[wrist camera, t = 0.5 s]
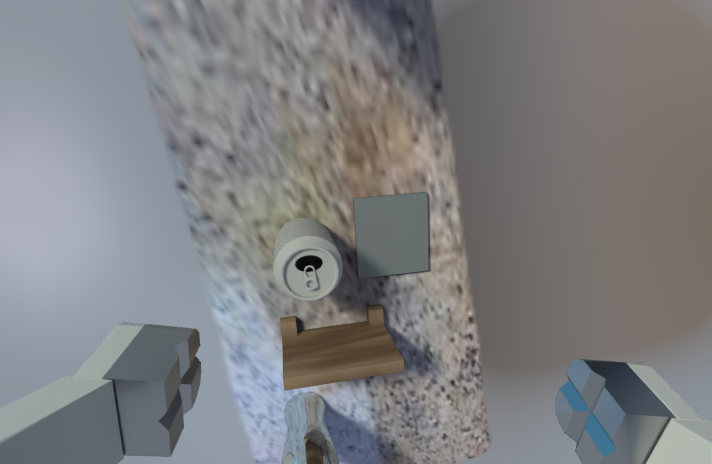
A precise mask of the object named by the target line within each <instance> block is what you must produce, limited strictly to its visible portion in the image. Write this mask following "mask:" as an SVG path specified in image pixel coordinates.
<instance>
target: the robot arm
mask: <svg viewBox="0 0 712 464" xmlns="http://www.w3.org/2000/svg"><path fill="white" fill-rule="evenodd" d="M199 346H200V337H199V332H198V330H197V329H192V328H182V327H172V326H161V325H151V324H148V325H147V324H139V323H128V322H123V323H120V324H118V325H117V326H116V327H115V328H114V329H113V330H112V331H111V333H110V334H109V335H108V336H107V337H106V338H105V340H104V341H103V342H102V343H101V344H100V345H99V347H98V348H97V349H96V350H95V351H94V353H93V354H92V355H91V356H90V357H89V358H88V360H87V361H86V362H85V363H84V364H83V366H82V367H81V368H80V369H79V370H78V371H77V373H76V374H75V375H74V376H73V377H63V378H61V379H59V380H57V381H54V382H52V383H50V384H49V385H46V386H44V387H42V388H40V389H38V390H36V391H34V392H32V393H30V394H28V395H26V396H24V397H22V398H20V399H18V400H16V401H14V402H12V403H10V404H8V405H6V406H4V407H1V408H0V464H117V463H119V462H120V461H121V460H122V459H123V458H124V455H128V456H162V457H170V456H171V455H172V453H173V451H174V448H175V446H176V444H177V442H178V439H179V437H180V435H181V433H182V430H183V428H184V421H183V415H184V414H185V413H187V412H188V411H189V410H191V409H192V407H193V405H194V402H195V400H196V397H197V394H198V390H199V386H200V379H201V362H200V361H199V359H198V358H197V357H196V356H195V355H196V353H197V351H198V348H199ZM566 374H567V376H568V379H569V382H567V383H566V384H565V385H563V386H562V387H561V388H560V389H559V391H558V394H557V397H556V414H557V418H558V421H559V424H560V425H561V427H562V429H563V431H564V433H565V434H567V435H568V436H569V437H570V438H572V439H573V440H574V441H576V442H577V445H576V450H575V451H576V454H577V455H578V457H579V459H580V460H581V462H582V464H712V422H711V421H704V420H702V419H701V418H700V416H699V415H697V413H696V412H695V411H694V410H693V409H692V408H691V407H690V406H689V405H688V404H687V403H686V402H685V401H684V400H683V399H682V398H681V397H680V396H679V395H678V394H677V393H676V392H675V391H674V390H673V389H672V388H671V387H670V386H669V385H668V384H667V383H666V382H665V381H664V380H663V379H662V378H661V377H660V376H659V375H658V374H657V373H656V372H655V371H654V370H653V369H652V368H651V367H650V366H649V365H647V364H645V363H643V362H630V361H619V362H616V361H602V360H588V359H574V360H573V361H572V362H571V363H570V364H569V366H568V369H567V371H566Z"/></svg>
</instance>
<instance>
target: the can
mask: <svg viewBox="0 0 712 464" xmlns="http://www.w3.org/2000/svg"><path fill="white" fill-rule="evenodd" d="M342 272H343V263H342V258H341V255H340V253H339V251H338V249H337V247H336V245H335V243H334V241H333V239H332V237H331V235H330V234H329V232H328V230H327V229H326V227H324V226H323V225H322V224H321V223H320V222H318V221H315V220H313V219H309V218H299V219H295V220H292V221H290V222H288V223H287V224H285V225H284V226H283V227H282V228H281V229H280V231H279V232H278V234H277V236H276V239H275V247H274V276H275V280H276V283H277V285H278V286H279V288H280V289H281V291H282V292H284V293H285V294H286V295H287V296H289V297H290V298H293V299H296V300H298V301H308V302H312V301H316V300H320V299H322V298H324V297H326V296H327V295H329V294H330V293H331V292H332V291H333V290H334V289H335V288H336V287H337V286H338V284H339V282H340V280H341V277H342Z"/></svg>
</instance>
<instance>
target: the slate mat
mask: <svg viewBox="0 0 712 464" xmlns="http://www.w3.org/2000/svg"><path fill="white" fill-rule="evenodd" d="M353 206H354V222H355V238H356V254H357V271H358V278H359V279H361V278H370V277H378V276H386V275H394V274H403V273H411V272H419V271H427V270H429V260H428V198H427V192H420V193H409V194H398V195H387V196H375V197H364V198H353Z"/></svg>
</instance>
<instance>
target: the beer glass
mask: <svg viewBox="0 0 712 464" xmlns="http://www.w3.org/2000/svg"><path fill="white" fill-rule="evenodd" d="M284 416H285V420H286V423H287V436H286V440H285V445H284V450H283V456H282V464H339V459H338V454H337V450H336V448H335V445H334V442H333V440H332V437H331V435H330V433H329V431H328V428H327V426H326V422H325V418H326V405H325V402H324V400H323V399H322V398H321V397H320V396H319V395H317V394H315V393H311V392H303V393H299V394H297V395H295V396H293V397H292V398H291V399H290V400H289V401H288V402H287V404H286V406H285V409H284Z"/></svg>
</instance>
